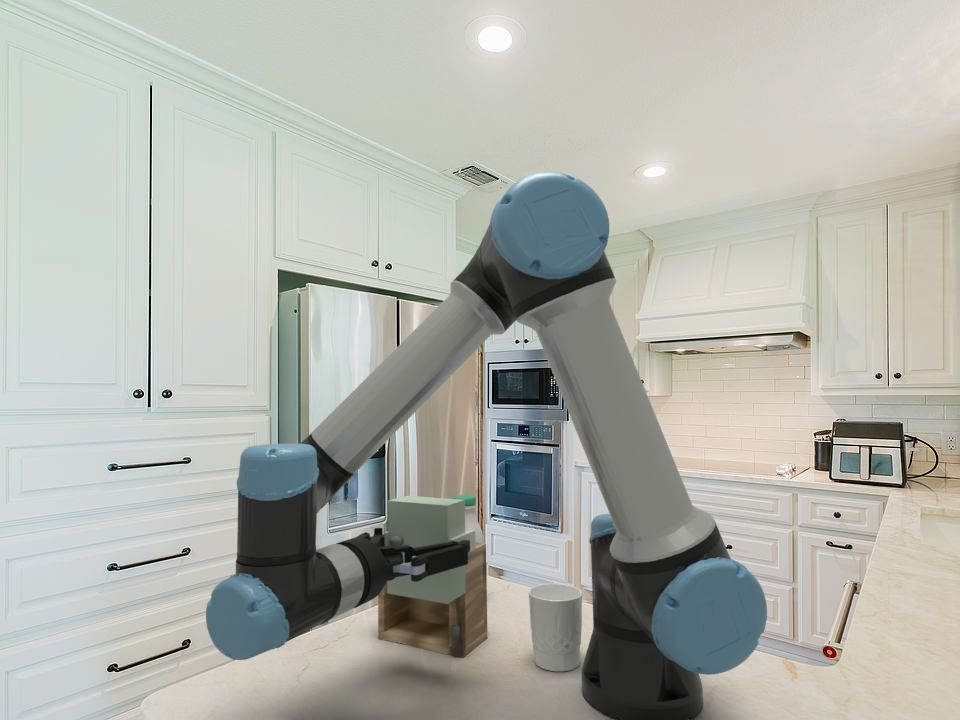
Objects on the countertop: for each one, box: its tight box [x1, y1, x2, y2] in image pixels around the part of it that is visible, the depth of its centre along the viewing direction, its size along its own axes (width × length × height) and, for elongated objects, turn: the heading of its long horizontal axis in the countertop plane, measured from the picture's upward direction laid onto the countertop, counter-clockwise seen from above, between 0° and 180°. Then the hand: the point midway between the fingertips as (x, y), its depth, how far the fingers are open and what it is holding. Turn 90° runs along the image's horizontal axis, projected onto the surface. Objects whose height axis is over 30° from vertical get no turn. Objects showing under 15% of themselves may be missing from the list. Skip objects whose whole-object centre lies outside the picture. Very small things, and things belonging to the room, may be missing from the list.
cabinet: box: [377, 542, 488, 658], centre depth 91 cm, size 16×9×15 cm, turn 62°
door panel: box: [387, 495, 466, 604], centre depth 79 cm, size 10×6×13 cm, turn 63°
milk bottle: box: [452, 494, 485, 544], centre depth 110 cm, size 8×8×20 cm
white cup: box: [528, 582, 583, 673], centre depth 82 cm, size 8×8×10 cm
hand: (441, 536), depth 84 cm, fingers closed on door panel, 10 cm apart
